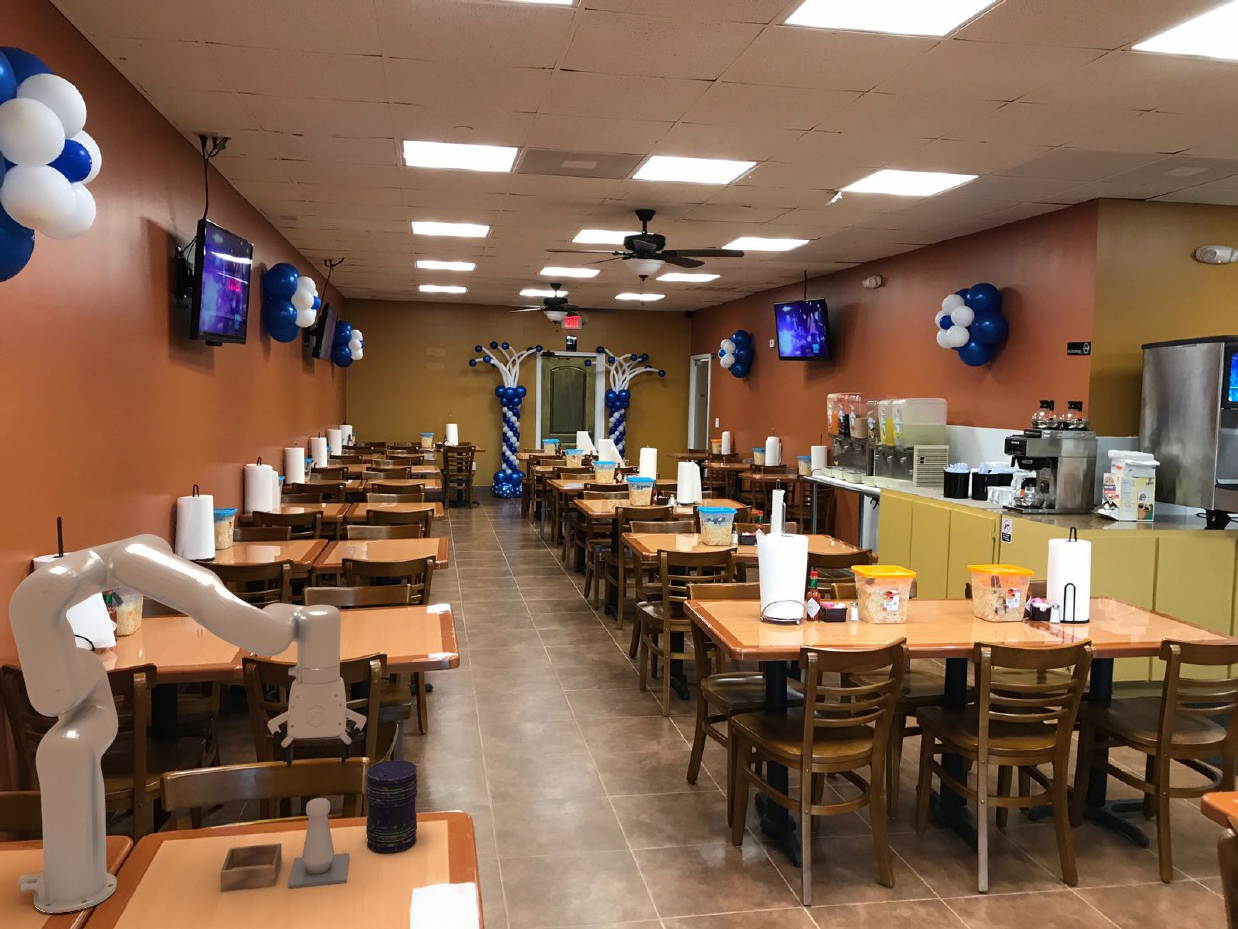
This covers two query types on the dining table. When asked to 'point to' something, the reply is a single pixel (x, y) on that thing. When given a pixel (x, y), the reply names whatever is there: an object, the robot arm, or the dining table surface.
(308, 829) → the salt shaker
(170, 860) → the dining table surface
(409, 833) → the dark blue cylinder
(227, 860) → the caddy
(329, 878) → the coaster
